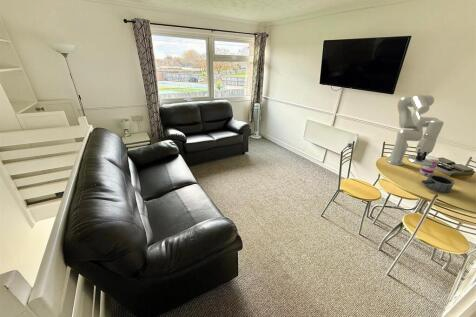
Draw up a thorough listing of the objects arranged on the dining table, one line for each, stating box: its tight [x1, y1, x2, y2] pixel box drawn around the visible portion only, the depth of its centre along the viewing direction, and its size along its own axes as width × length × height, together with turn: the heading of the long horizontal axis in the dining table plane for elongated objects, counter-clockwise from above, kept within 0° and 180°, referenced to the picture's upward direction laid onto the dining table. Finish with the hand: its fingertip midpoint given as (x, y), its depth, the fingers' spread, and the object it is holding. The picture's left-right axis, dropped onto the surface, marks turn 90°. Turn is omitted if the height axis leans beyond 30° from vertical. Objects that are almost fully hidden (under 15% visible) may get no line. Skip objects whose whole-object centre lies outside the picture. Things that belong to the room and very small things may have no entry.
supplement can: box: [419, 155, 440, 177], centre depth 168 cm, size 8×8×15 cm
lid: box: [406, 153, 432, 167], centre depth 156 cm, size 15×15×6 cm
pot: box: [421, 174, 455, 194], centre depth 152 cm, size 14×23×7 cm, turn 97°
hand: (419, 159), depth 157 cm, fingers closed on lid, 3 cm apart
